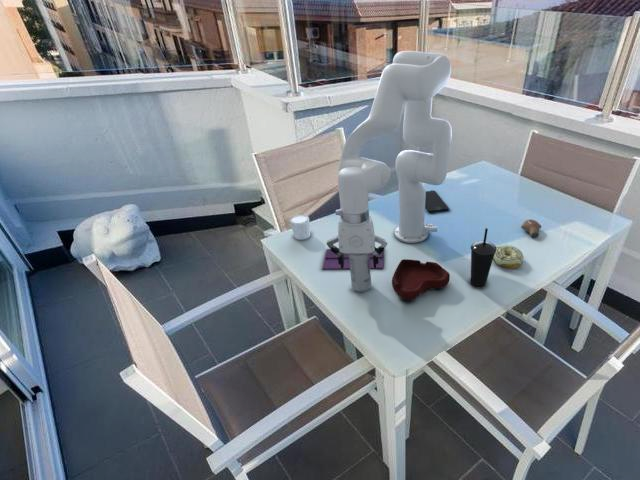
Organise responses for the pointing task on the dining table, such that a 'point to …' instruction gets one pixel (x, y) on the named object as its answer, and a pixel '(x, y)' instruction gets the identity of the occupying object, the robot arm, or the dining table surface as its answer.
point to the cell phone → (434, 202)
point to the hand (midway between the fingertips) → (358, 265)
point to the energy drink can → (360, 271)
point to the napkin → (347, 261)
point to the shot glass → (300, 226)
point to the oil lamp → (531, 227)
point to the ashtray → (418, 278)
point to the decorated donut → (508, 256)
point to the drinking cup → (481, 261)
